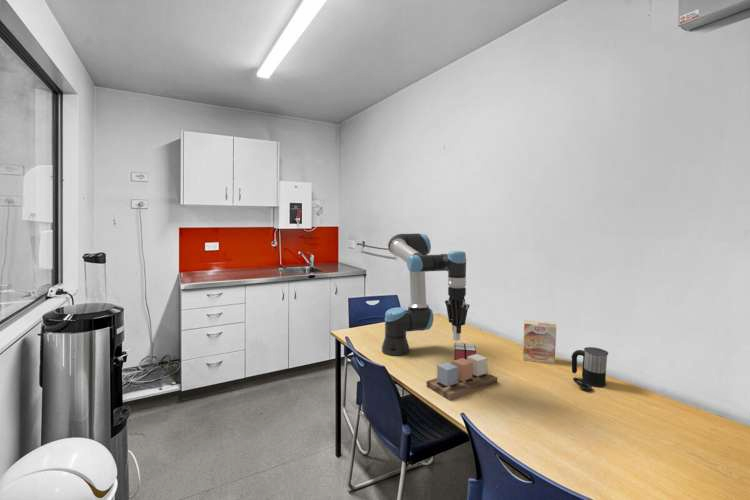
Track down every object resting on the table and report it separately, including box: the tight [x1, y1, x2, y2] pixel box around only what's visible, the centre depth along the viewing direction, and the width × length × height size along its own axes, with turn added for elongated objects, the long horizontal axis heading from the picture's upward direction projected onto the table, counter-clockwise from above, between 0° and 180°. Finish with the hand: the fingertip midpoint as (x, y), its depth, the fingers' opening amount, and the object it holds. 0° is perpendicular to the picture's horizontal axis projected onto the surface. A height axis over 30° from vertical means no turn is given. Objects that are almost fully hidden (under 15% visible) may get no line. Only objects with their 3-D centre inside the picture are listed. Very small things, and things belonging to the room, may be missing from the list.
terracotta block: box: [452, 358, 474, 382], centre depth 159 cm, size 6×6×7 cm
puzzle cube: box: [453, 342, 477, 361], centre depth 179 cm, size 10×10×10 cm
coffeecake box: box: [522, 319, 557, 365], centre depth 186 cm, size 15×7×20 cm, turn 68°
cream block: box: [467, 353, 488, 377], centre depth 163 cm, size 6×6×7 cm
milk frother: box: [571, 346, 609, 391], centre depth 158 cm, size 14×16×15 cm
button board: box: [426, 372, 498, 401], centre depth 159 cm, size 14×29×2 cm, turn 122°
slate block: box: [436, 361, 459, 387], centre depth 154 cm, size 6×6×7 cm
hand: (456, 339), depth 159 cm, fingers closed
